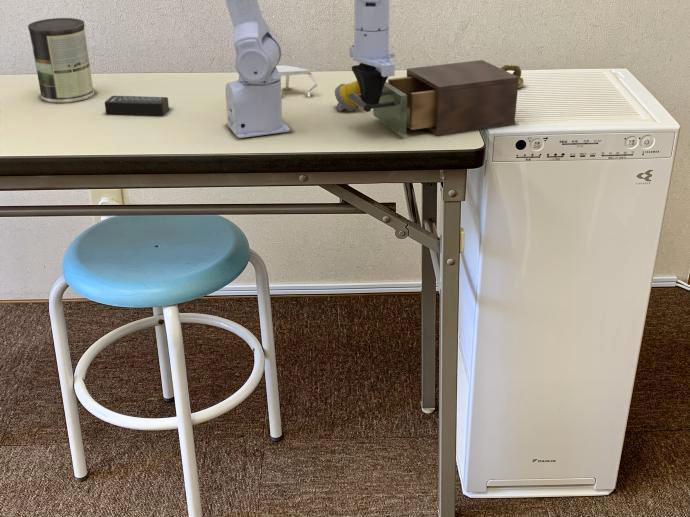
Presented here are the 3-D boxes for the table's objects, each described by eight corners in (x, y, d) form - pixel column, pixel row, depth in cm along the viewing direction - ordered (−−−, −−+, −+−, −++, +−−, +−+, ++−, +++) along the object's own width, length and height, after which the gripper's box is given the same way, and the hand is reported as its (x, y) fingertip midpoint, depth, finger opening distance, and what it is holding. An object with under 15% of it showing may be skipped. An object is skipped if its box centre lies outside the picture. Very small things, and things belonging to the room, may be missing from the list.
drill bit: (348, 104, 161) (382, 74, 155) (346, 123, 158) (380, 94, 151) (326, 90, 159) (360, 59, 152) (324, 109, 155) (358, 78, 149)
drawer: (369, 139, 140) (369, 99, 137) (343, 119, 149) (343, 81, 146) (474, 124, 146) (477, 86, 143) (444, 105, 156) (446, 69, 153)
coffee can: (32, 102, 162) (18, 29, 155) (53, 87, 171) (41, 17, 164) (83, 103, 161) (71, 30, 154) (102, 88, 170) (92, 18, 163)
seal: (449, 96, 168) (524, 96, 166) (450, 73, 165) (527, 74, 164) (448, 78, 175) (520, 78, 174) (449, 56, 173) (522, 57, 171)
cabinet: (436, 135, 144) (439, 87, 140) (405, 114, 154) (406, 68, 150) (514, 124, 149) (519, 77, 145) (479, 104, 159) (482, 59, 155)
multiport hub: (162, 116, 154) (161, 104, 153) (105, 114, 155) (103, 102, 154) (169, 108, 158) (168, 96, 157) (113, 107, 159) (112, 95, 158)
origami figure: (255, 99, 163) (254, 74, 161) (263, 87, 170) (262, 63, 168) (316, 100, 162) (316, 75, 160) (321, 88, 169) (321, 64, 167)
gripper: (412, 34, 133) (410, 116, 139) (376, 17, 145) (375, 93, 151) (372, 38, 130) (371, 122, 137) (338, 20, 142) (338, 97, 149)
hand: (370, 107), depth 144 cm, fingers closed, pressing on drawer
